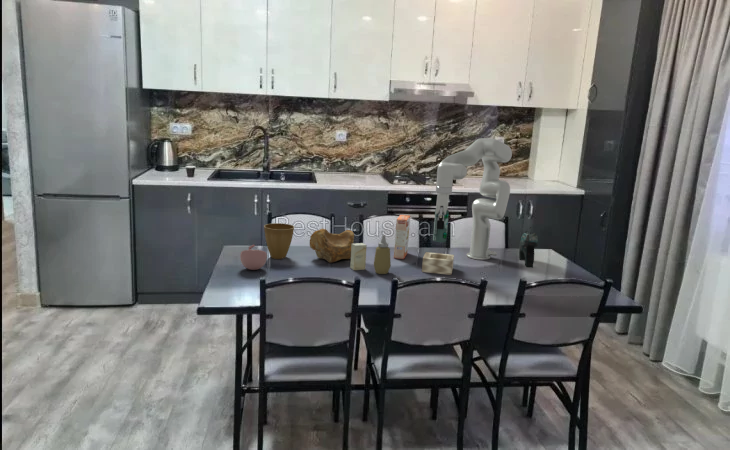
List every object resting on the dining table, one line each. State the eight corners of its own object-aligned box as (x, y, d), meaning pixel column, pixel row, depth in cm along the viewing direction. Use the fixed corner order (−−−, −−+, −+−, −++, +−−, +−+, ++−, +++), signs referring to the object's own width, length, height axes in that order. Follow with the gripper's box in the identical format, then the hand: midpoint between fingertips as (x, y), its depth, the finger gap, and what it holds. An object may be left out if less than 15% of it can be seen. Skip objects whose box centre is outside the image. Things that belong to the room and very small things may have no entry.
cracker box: (404, 259, 282) (407, 219, 277) (393, 258, 283) (395, 218, 279) (408, 253, 295) (410, 215, 291) (397, 252, 296) (399, 214, 292)
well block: (452, 268, 270) (454, 254, 269) (451, 274, 259) (452, 261, 258) (424, 265, 273) (425, 252, 272) (421, 271, 262) (422, 258, 260)
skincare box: (353, 270, 258) (355, 245, 256) (349, 268, 262) (350, 243, 260) (365, 269, 261) (367, 244, 259) (361, 266, 265) (362, 242, 262)
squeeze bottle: (384, 276, 252) (387, 238, 248) (369, 272, 256) (371, 235, 252) (393, 272, 259) (395, 235, 255) (378, 269, 263) (380, 232, 259)
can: (447, 242, 260) (449, 211, 257) (434, 242, 260) (437, 210, 257) (444, 239, 266) (447, 209, 263) (432, 239, 266) (434, 208, 263)
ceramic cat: (535, 268, 277) (540, 230, 273) (523, 268, 277) (527, 229, 273) (526, 258, 296) (530, 222, 292) (514, 257, 297) (518, 221, 292)
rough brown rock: (314, 267, 264) (317, 237, 260) (306, 255, 279) (309, 227, 275) (360, 266, 272) (363, 237, 268) (349, 254, 287) (352, 227, 283)
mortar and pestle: (266, 265, 259) (267, 242, 257) (266, 273, 248) (267, 248, 245) (240, 265, 257) (240, 242, 255) (239, 273, 246) (239, 248, 243)
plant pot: (270, 262, 265) (270, 230, 261) (259, 254, 277) (259, 224, 274) (298, 259, 272) (299, 228, 269) (286, 252, 285) (287, 222, 281)
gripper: (437, 187, 267) (434, 223, 271) (434, 192, 250) (431, 230, 254) (452, 188, 266) (449, 224, 269) (450, 193, 249) (447, 231, 253)
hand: (440, 227), depth 262 cm, fingers closed on can, 6 cm apart
